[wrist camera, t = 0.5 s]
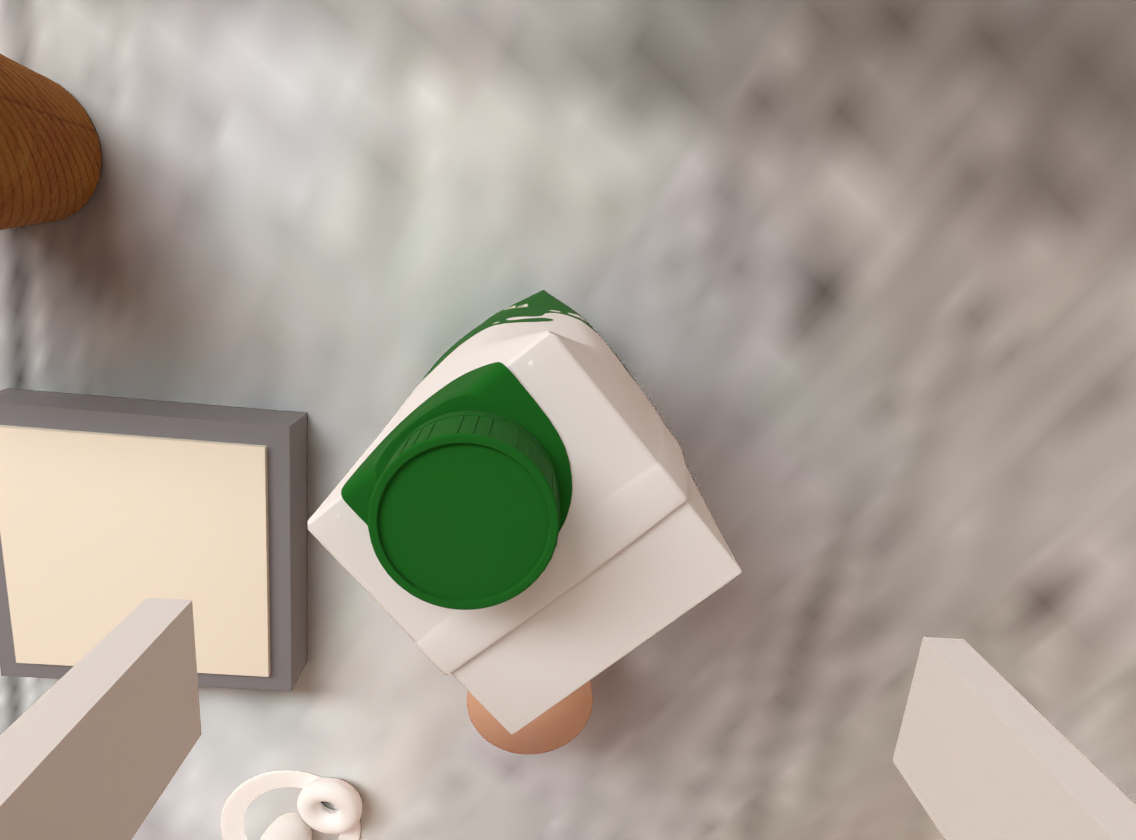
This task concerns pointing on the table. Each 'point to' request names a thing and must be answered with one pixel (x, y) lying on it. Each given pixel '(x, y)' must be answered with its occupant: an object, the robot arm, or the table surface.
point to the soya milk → (526, 513)
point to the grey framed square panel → (153, 531)
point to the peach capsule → (536, 724)
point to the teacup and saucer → (291, 830)
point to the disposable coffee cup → (43, 149)
